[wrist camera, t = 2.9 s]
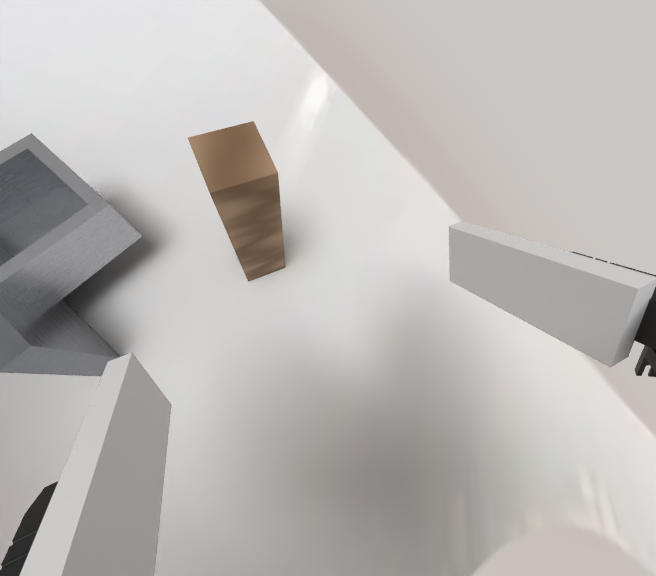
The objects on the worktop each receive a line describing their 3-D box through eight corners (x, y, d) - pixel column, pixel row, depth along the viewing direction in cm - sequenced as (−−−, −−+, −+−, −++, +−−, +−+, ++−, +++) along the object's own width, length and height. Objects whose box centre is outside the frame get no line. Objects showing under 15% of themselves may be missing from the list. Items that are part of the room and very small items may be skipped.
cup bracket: (-35, 236, 29) (-196, 164, 19) (68, 170, 32) (-26, 81, 23) (103, 376, 26) (-3, 372, 17) (199, 289, 30) (155, 245, 20)
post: (248, 281, 31) (209, 192, 16) (235, 248, 32) (187, 137, 17) (284, 267, 32) (277, 172, 17) (270, 236, 32) (253, 121, 18)
